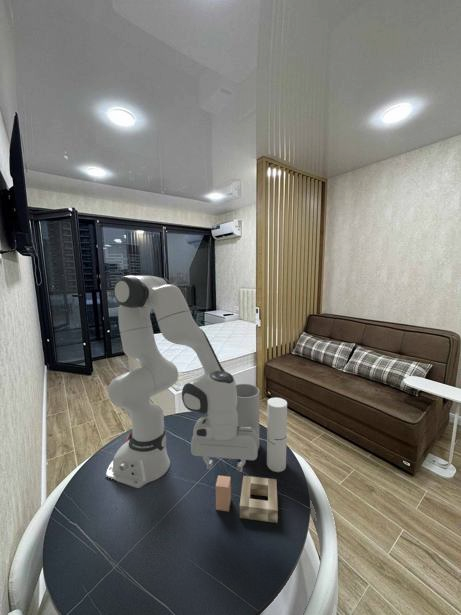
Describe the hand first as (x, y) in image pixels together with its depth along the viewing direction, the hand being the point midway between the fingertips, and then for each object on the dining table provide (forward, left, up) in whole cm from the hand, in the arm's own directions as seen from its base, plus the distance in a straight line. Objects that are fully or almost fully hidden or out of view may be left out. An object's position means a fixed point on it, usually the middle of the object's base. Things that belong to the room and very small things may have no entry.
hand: (224, 468), depth 74 cm
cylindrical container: (+16, +19, -13) cm, 28 cm away
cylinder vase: (+3, +27, -13) cm, 30 cm away
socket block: (+10, +2, -13) cm, 16 cm away
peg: (-1, 0, -13) cm, 13 cm away
